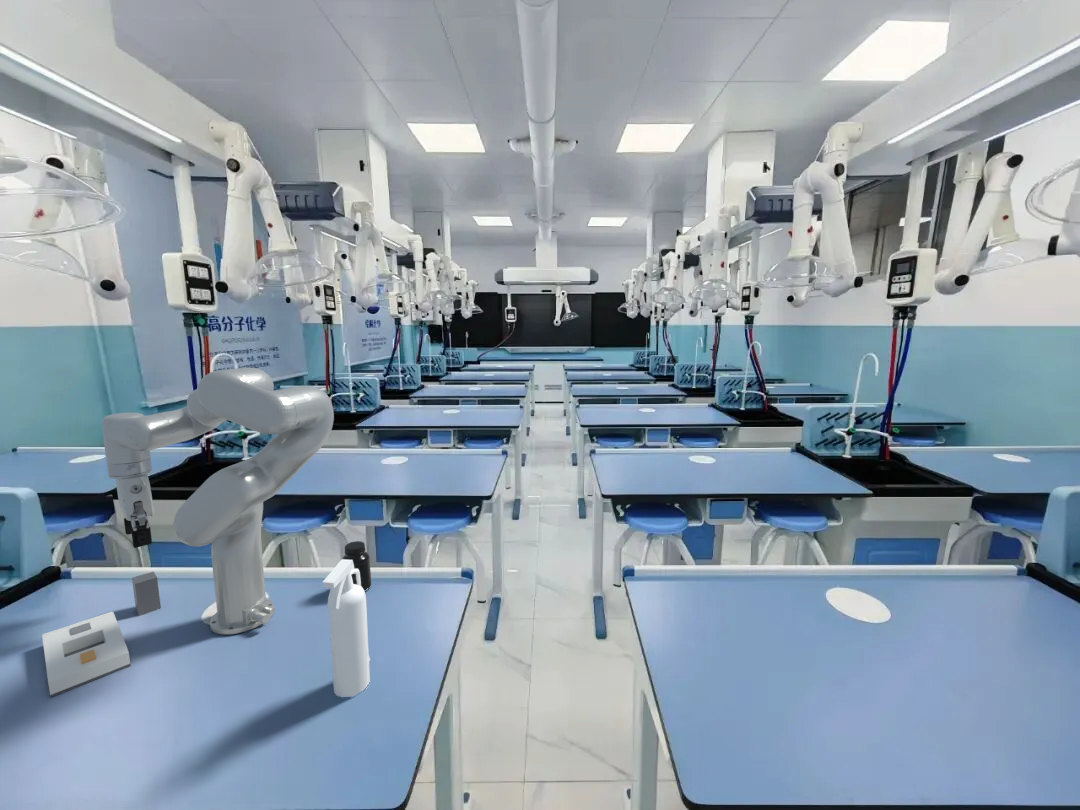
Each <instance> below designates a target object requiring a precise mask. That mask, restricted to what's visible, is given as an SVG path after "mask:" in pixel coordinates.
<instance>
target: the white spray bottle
mask: <svg viewBox="0 0 1080 810" xmlns="http://www.w3.org/2000/svg"><path fill="white" fill-rule="evenodd" d="M352 574H356V580H357V585H356V584H353V580H352V576H351V575H352ZM321 583H322V584H321V585H322V588H323V589H324V588H325V589H330V590H329V594H328V598H327V605H326V606H327V609H328V615H329V617H328V618H329V630H330V631H329V632H330V633H329V634H330V646H331V647H330V649H331V650H330V651H331V664H332V665H331V668H332V679H333V680H332V681H333V683H332V684H333V694H334V693H335V694H337V695H339V696H341V697H345V696H346V697H347V696H354V695H356V694H357V693H359V692H361V691H363V690H364V689H365V688H366V687H367V685H368V684H369V682H370V683H371V679H370V678H371V675H370V662H371V657H370V655H369V654H370V652H369V636H368V635H369V633H368V615H367V614H368V613H367V612H368V611H367V596H366V592H365V591H364V590H363V588H362V586H361V579H360V572H359V569H354V564H353V560H346V559H342V558H341V560H340V561H339V562H338V563H337V564H336V566H335V567H334V568H333V569H332V570H331V571H330V573H329V574H328V575H327V576H326V577H325V579H324V580H323V581H322V582H321ZM369 685H370V684H369ZM367 688H368V687H367ZM367 688H366V689H367ZM335 694H334V695H335ZM337 695H336V696H337ZM339 696H338V697H339Z"/></svg>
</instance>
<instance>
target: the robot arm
mask: <svg viewBox="0 0 1080 810" xmlns="http://www.w3.org/2000/svg"><path fill="white" fill-rule="evenodd" d="M274 385H275V384H274V380H273V379H272V377H271V376H270V375H269V374H268V373H267V372H265V371H263V370H262V369H259V368H257V367H256V368H255V367H239V368H230V369H229V368H228V369H220V370H219V369H218V370H215V371H211V372H209V373H207V374H206V375H204V376H203V377H202V378H201V379H200V381H199V382H198V384H197V388H196V389H194V390H193V391H191V392H190V393H189V394H188V396H187V398H186V406H183V407H181V408H177V409H174V410H169V411H164V412H157V413H153V414H146V415H144V414H142V413H141V412H119V413H112V414H109V415H105V416H104V417H103V418H102V420H101V429H102V430H101V431H102V435H103V436H102V437H103V444H104V445H103V446H104V453H105V461H106V469H107V477H108V478H109V479H114V480H115V484H116V490H117V491H116V492H117V499H118V503H119V507H120V511H121V513H122V515H123V517H124V518H123V525H124V533H125V535H131V540H132V546H133V548H135V549H137V548H141V547H145V546H148V545H151V544H152V543H153V540H152V532H151V526H150V522H149V518H148V516H150V517H154V515H155V508H154V503H153V496H152V495H153V494H152V490H151V484H150V480H149V479H150V478H149V476H148V474H150V473H152V472H153V466H152V458H151V457H152V456H151V451H152V450H153V451H154V450H157V449H161V448H164V447H168V446H171V445H174V444H180V443H183V442H187V441H190V440H193V439H195V438H197V437H199V436H201V435H204V434H206V433H208V432H210V431H212V430H215V429H216V428H217V427H219V426H220V425H221V424H223V423H224V422H227V421H230V422H232V423H234V424H237V425H239V426H242V427H244V428H247V429H249V430H251V431H254V432H257V433H259V434H264V435H274V437H273V438H271V439H270V440H269V441H268V442H267V443H266V444H265V446H263V447H262V448H261V450H259V452H257V453H256V454H255V455H254V456H252V457H250V458H247V459H245V460H242V461H239V462H237V463H235V464H232V465H229V466H227V467H223V468H221V469H220V470H218V471H216V472H215V473H213V474H212V475H210V476H209V477H208V478H207V479H206V480H204V482H203V483H202V484H201V485H200V486H199V487H198V488H197V489H196V490H195V491H194V492H193V493H192V494H191V495H190V496H189V497H188V498H187V500H185V501H184V502H183V503H182V505H181V506H180V507H179V508H178V510H177V512H176V514H175V515H174V519H173V525H172V526H173V531H174V534H175V536H176V538H177V539H178V540H179V541H180V542H181V543H183V544H185V545H186V546H190V547H203V546H207V545H210V544H211V547H210V548H211V549H210V550H211V551H210V552H211V553H210V554H211V563H212V566H211V567H212V574H213V575H212V576H213V584H214V585H213V586H214V592H215V594H214V595H215V605H216V612H215V613H214V614H213V616H212V617H211V618H210V621H209V629H210V630H211V631H212V632H213V633H214V634H218V635H234V634H235V635H236V634H240V633H244V632H248V631H250V630H253V629H255V628H257V627H260V626H261V625H263V624H267V623H268V622H269V621H270V619H271V617H272V616H273V615H274V614H275V611H276V609H275V604H274V602H273V601H271V600H270V599H269V598H268V597H267V595H266V594H267V593H266V585H265V584H266V583H265V572H264V560H263V548H262V547H263V545H262V521H263V514H264V512H263V511H264V502H265V501H267V500H268V499H271V498H273V497H274V496H275V495H277V494H278V493H279V491H280V490H281V489H282V488H284V486H285V485H286V484H287V483H288V482H290V480H291V479H292V478H294V477H295V475H296V474H298V473H299V471H300V470H302V468H303V467H304V466H305V465H306V464H307V463H308V462H309V461H310V460H311V459H312V458H313V457H314V456H315V455H316V454H317V453H318V452H319V451H320V449H321V448H322V447H323V445H324V444H325V443H326V442H327V440H328V438H329V436H330V434H331V432H332V429H333V427H334V426H333V425H334V421H335V416H334V414H335V413H334V408H333V404H332V401H331V399H330V397H329V396H328V394H327V393H326V392H325V391H323V390H322V389H320V388H318V387H314V386H310V385H309V386H308V385H299V386H292V387H286V388H281V389H276V390H274V387H275V386H274Z"/></svg>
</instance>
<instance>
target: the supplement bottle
mask: <svg viewBox="0 0 1080 810" xmlns="http://www.w3.org/2000/svg"><path fill="white" fill-rule="evenodd" d="M342 559H346V560H353V564H354V569H359V572H360V579H361V586H362V588H363V590H366V589H367V588H369V587H370V586H372V572H371V557H370V554H369V553H368V552H367V551H366V544H365V542H363V541H359V540H357V541H351V542H349V543H347V544H345V546H344V555H343V557H342V558H341V560H342ZM351 576H352V580H353V584H356V585H357V580H356V574H352V575H351ZM370 588H371V587H370ZM370 588H369V589H370Z"/></svg>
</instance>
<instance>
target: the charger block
mask: <svg viewBox="0 0 1080 810" xmlns="http://www.w3.org/2000/svg"><path fill="white" fill-rule="evenodd" d="M131 581H132V589H133V596H134V597H133V598H134V603H135V610H136V612H137V614H138V617H141V616H143V615H146V614H149V613H152V612H154V611H157V609H158V610H161V609H162V607H161V598H160V592H159V591H160V590H159V583H158V577H157V575H156V573H155V571H150V572H147V573H144V574H139V575H136V576H132V577H131ZM160 608H161V609H160Z"/></svg>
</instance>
